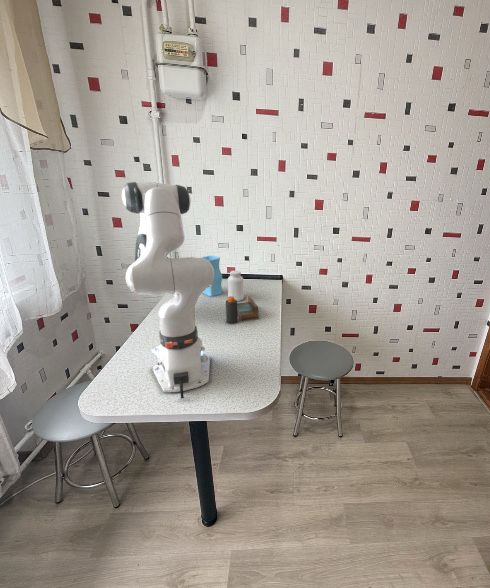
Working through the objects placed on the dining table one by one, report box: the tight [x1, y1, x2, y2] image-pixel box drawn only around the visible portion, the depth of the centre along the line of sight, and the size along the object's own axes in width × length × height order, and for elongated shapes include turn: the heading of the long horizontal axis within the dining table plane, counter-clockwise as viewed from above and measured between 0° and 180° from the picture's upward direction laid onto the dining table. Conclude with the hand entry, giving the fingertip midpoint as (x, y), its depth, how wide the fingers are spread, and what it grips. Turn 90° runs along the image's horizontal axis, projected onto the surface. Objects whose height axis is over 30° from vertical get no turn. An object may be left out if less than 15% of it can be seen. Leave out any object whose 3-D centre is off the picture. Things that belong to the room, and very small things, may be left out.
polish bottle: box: [225, 296, 239, 325], centre depth 149 cm, size 5×5×12 cm
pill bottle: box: [227, 270, 245, 302], centre depth 173 cm, size 8×8×15 cm
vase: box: [200, 254, 224, 297], centre depth 178 cm, size 8×8×20 cm
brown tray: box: [237, 295, 259, 322], centre depth 158 cm, size 14×8×6 cm, turn 26°
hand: (206, 288), depth 148 cm, fingers open, 8 cm apart
